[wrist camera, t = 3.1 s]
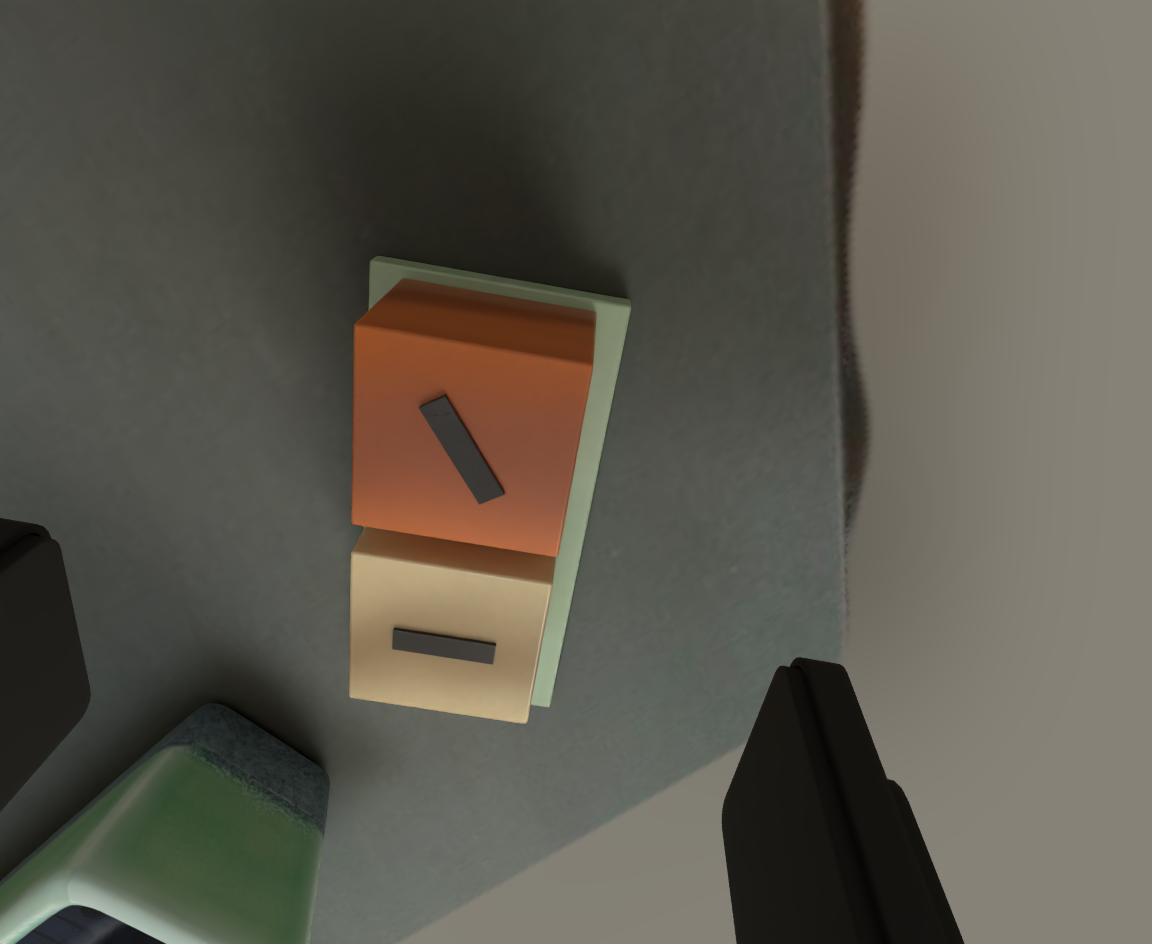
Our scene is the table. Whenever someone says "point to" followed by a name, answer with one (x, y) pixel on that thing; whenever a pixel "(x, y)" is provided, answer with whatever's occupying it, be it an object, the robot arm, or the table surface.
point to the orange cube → (468, 415)
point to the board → (597, 411)
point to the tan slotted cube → (446, 624)
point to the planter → (183, 847)
